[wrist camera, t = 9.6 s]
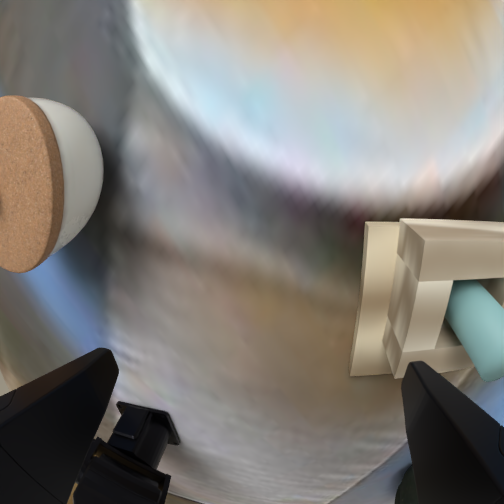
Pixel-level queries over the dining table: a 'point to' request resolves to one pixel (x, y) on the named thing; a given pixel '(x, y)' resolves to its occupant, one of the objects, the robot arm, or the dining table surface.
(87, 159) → the lidded jar
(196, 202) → the dining table surface
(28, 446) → the robot arm
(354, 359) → the socket board
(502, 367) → the peg
